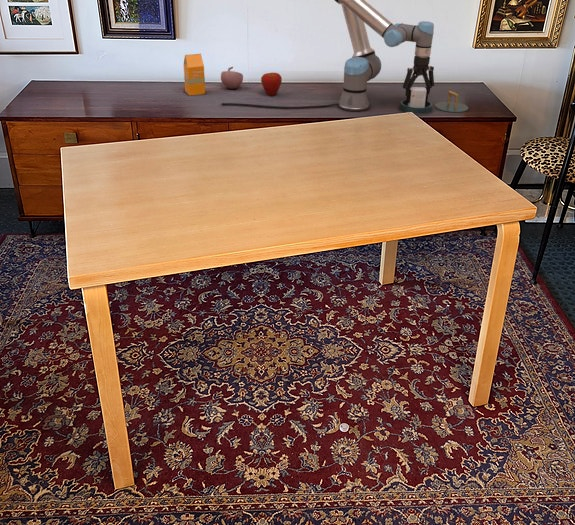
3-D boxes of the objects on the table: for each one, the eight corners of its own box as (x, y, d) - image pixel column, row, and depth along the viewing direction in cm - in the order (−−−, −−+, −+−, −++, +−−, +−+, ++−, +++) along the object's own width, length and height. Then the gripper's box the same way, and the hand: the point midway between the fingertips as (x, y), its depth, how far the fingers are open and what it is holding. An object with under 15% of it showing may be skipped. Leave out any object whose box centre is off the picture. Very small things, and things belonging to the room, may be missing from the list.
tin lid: (446, 115, 313) (449, 98, 309) (428, 105, 326) (430, 89, 322) (474, 111, 319) (477, 95, 315) (455, 102, 332) (457, 86, 328)
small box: (423, 107, 323) (425, 87, 317) (424, 111, 318) (426, 90, 312) (407, 107, 323) (409, 86, 318) (408, 110, 318) (410, 89, 313)
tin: (410, 115, 312) (411, 109, 310) (394, 106, 324) (394, 100, 322) (437, 112, 317) (438, 106, 315) (420, 103, 329) (421, 97, 328)
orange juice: (205, 93, 337) (203, 55, 327) (189, 95, 334) (187, 56, 324) (200, 89, 343) (198, 51, 333) (185, 91, 340) (182, 53, 330)
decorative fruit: (244, 85, 351) (244, 64, 345) (241, 92, 341) (240, 70, 335) (223, 84, 352) (222, 63, 346) (219, 91, 342) (218, 69, 336)
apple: (269, 90, 344) (269, 68, 338) (285, 94, 339) (286, 71, 333) (257, 95, 336) (256, 72, 330) (273, 99, 331) (273, 75, 325)
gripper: (406, 59, 300) (401, 105, 312) (446, 55, 307) (439, 101, 319) (398, 55, 306) (393, 101, 318) (437, 52, 313) (431, 97, 325)
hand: (416, 101), depth 318 cm, fingers closed on small box, 9 cm apart
